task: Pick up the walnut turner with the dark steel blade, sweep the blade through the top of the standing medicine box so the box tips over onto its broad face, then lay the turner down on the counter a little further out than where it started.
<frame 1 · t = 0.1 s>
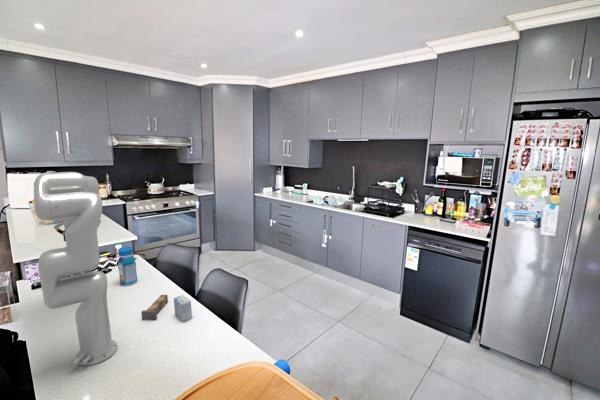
hand: (80, 240, 135), 31 cm above the worktop, tool pointing down, fingers open, 9 cm apart
beverage bottle: (129, 283, 160), on the worktop
medicine box: (183, 317, 130), on the worktop
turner: (156, 311, 133), on the worktop
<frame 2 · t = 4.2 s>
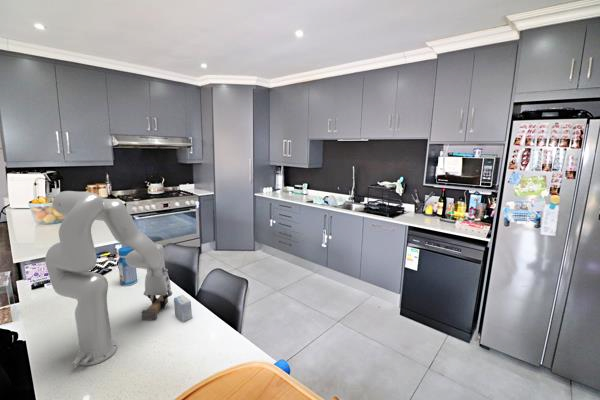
hand: (159, 307, 136), 1 cm above the worktop, tool pointing down, fingers closed on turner, 3 cm apart
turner: (156, 311, 133), on the worktop, touching gripper
everything else where it was.
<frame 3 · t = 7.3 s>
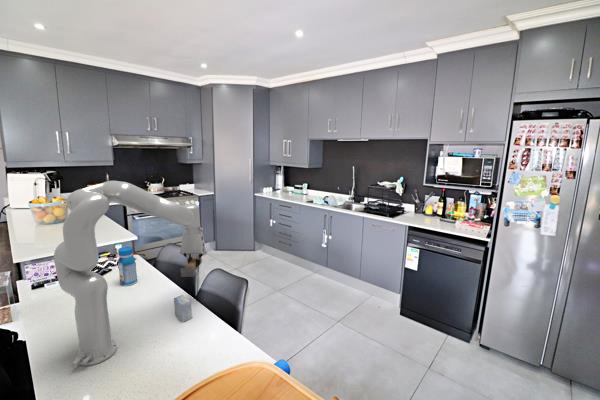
hand: (194, 265, 142), 17 cm above the worktop, tool pointing down, fingers closed on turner, 3 cm apart
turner: (192, 269, 140), point 16 cm above the worktop, touching gripper
everything else where it was.
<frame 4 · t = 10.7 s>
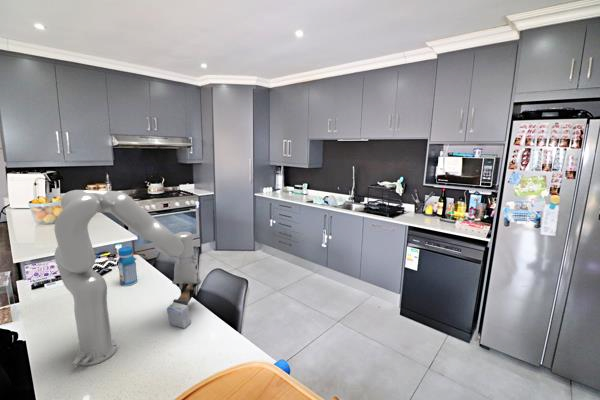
hand: (187, 295, 134), 7 cm above the worktop, tool pointing down, fingers closed on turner, 3 cm apart
medicine box: (180, 323, 125), on the worktop, touching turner
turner: (186, 300, 133), point 6 cm above the worktop, touching gripper, medicine box
everything else where it was.
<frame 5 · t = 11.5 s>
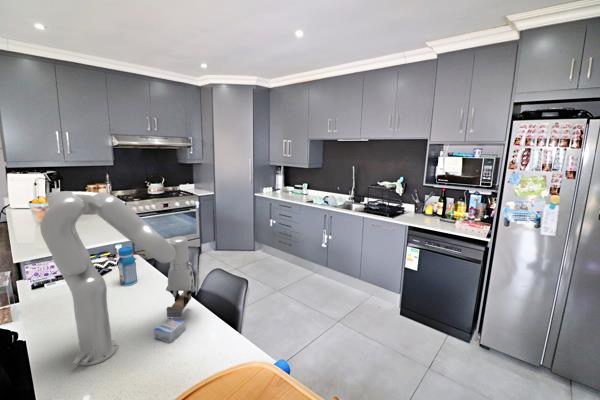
hand: (182, 303, 128), 7 cm above the worktop, tool pointing down, fingers closed on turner, 3 cm apart
medicine box: (177, 323, 122), point 2 cm above the worktop
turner: (180, 308, 127), point 5 cm above the worktop, touching gripper
everything else where it was.
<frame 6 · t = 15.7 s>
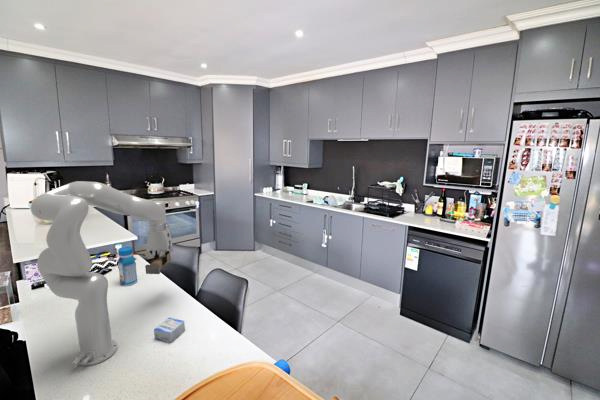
hand: (161, 263, 140), 19 cm above the worktop, tool pointing down, fingers closed on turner, 3 cm apart
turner: (159, 267, 139), point 18 cm above the worktop, touching gripper
everything else where it was.
when the fingers open (2 cm above the worktop, at t = 19.3 s): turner stays where it is, on the worktop.
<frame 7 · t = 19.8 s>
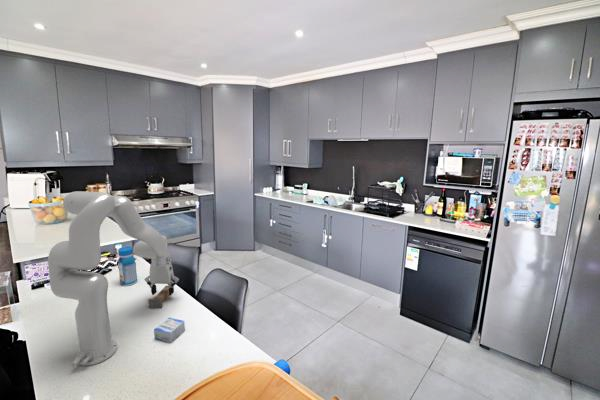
hand: (162, 293, 143), 3 cm above the worktop, tool pointing down, fingers open, 8 cm apart
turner: (162, 300, 143), on the worktop
everything else where it was.
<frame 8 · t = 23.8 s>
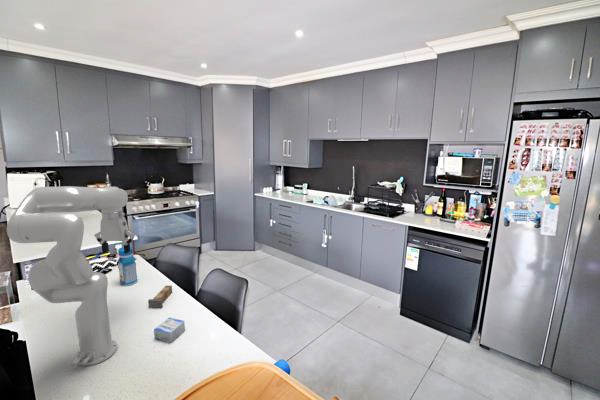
hand: (116, 252, 129), 28 cm above the worktop, tool pointing down, fingers open, 9 cm apart
nothing on the worktop moved.
at the end: medicine box tilted 89°; the gripper is holding nothing; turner inside the target area (1.2 cm from its centre), on the worktop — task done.
